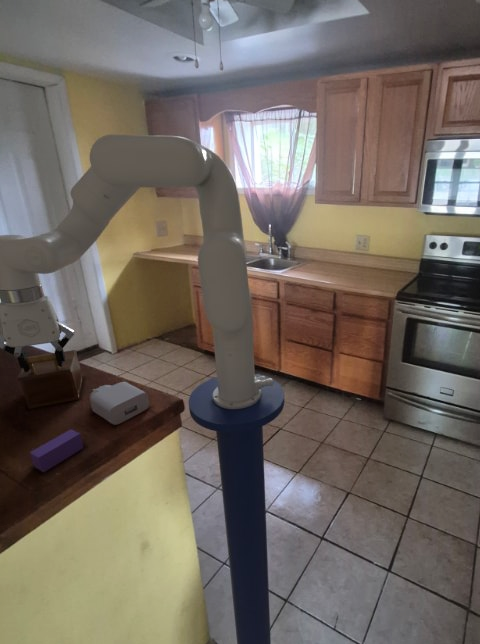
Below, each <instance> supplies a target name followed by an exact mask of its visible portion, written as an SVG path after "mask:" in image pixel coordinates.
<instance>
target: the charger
mask: <svg viewBox="0 0 480 644" xmlns="http://www.w3.org/2000/svg"><path fill="white" fill-rule="evenodd" d="M91 391H92V392H91V393H90V394H89V404H90V407H91V410H92V412H93V413H95V414H96V415H98V416H99V417H101V418H103V419H104V420H106V421H107V422H108V423H110V424H112V425H114V426H117V425H120V424H122V423H124V422H126V421H127V420H129V419H131V418H133V417H135V416H137V415H139V414H140V413H142V412H145V411H146V410H147V409H148V408H149V407H150V401H149V395H148V393H147V392H145V391H144V390H142V389H140V388H138V387H136V386H134V385H132V384H130V383H129V382H127V381H120V382H118V383H115V384H113V385H111V384H104V385H99V386H98V387H97V388H92V389H91Z"/></svg>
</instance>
